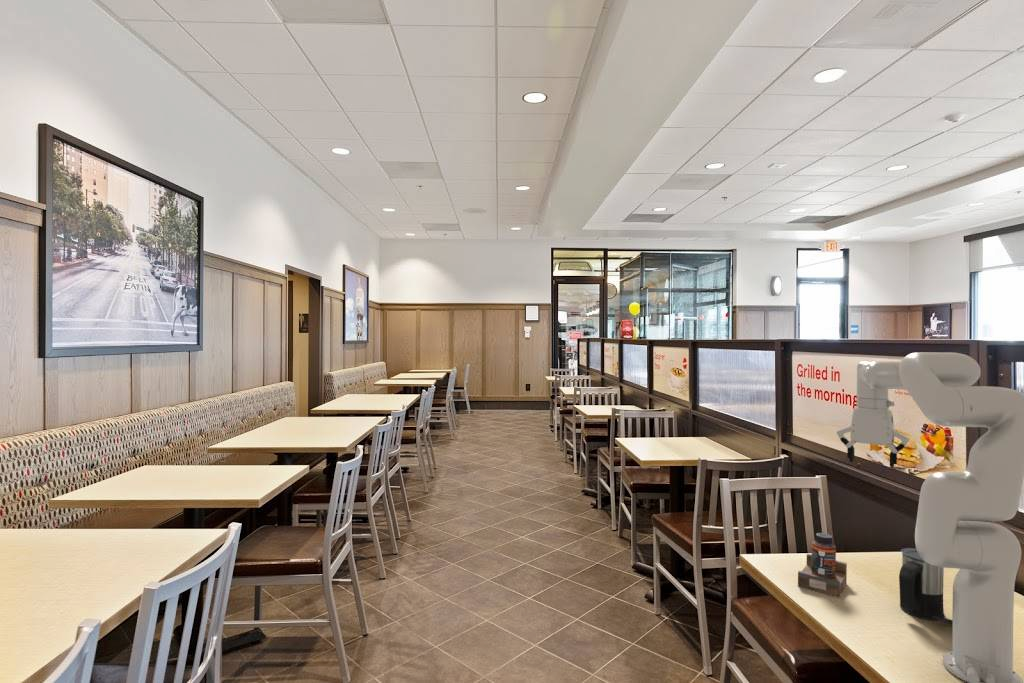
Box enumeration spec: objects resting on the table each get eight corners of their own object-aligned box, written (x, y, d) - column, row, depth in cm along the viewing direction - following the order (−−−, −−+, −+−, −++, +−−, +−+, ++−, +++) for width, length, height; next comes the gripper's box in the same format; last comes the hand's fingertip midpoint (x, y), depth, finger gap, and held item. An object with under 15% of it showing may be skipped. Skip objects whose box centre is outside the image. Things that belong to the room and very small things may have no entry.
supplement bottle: (826, 581, 148) (826, 540, 148) (806, 572, 153) (806, 533, 153) (840, 577, 150) (840, 537, 150) (820, 568, 156) (820, 530, 156)
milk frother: (902, 599, 144) (902, 544, 144) (980, 620, 133) (980, 560, 133) (895, 619, 133) (895, 560, 133) (978, 644, 123) (979, 579, 123)
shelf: (838, 598, 144) (838, 576, 144) (797, 586, 151) (797, 565, 151) (846, 584, 153) (846, 563, 153) (807, 573, 159) (807, 553, 159)
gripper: (910, 405, 150) (910, 466, 151) (839, 400, 162) (839, 457, 162) (908, 408, 145) (907, 471, 145) (834, 402, 156) (834, 461, 156)
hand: (871, 463), depth 153 cm, fingers open, 9 cm apart
